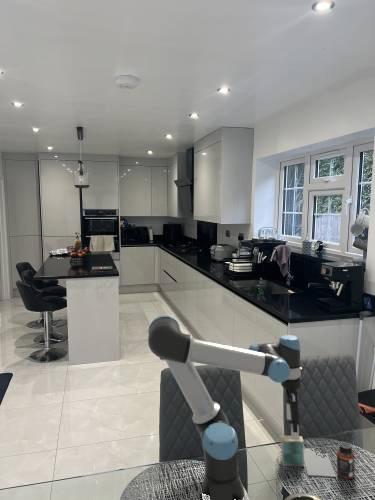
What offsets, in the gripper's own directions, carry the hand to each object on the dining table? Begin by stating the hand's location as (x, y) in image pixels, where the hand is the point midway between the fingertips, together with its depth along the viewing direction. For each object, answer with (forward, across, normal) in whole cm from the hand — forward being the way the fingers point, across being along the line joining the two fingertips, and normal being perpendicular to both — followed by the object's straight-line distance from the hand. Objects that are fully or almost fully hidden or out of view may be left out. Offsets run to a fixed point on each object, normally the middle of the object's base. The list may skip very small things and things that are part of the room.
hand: (292, 428), depth 141 cm
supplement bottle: (+14, -5, -18) cm, 24 cm away
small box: (+14, 0, 0) cm, 14 cm away
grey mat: (+14, +1, -9) cm, 17 cm away
